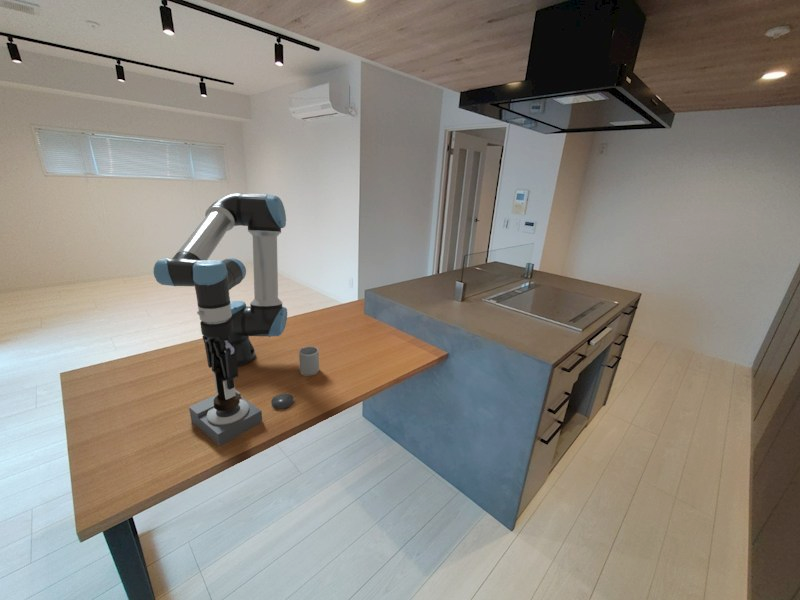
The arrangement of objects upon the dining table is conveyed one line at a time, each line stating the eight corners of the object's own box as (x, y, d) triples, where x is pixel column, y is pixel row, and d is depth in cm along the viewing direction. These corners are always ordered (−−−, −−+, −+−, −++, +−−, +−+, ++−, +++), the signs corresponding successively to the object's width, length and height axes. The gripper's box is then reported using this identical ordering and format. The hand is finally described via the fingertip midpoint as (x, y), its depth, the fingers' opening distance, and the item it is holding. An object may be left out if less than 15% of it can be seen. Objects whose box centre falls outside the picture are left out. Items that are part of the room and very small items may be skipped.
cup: (304, 378, 125) (303, 357, 122) (293, 366, 132) (292, 346, 129) (322, 372, 129) (321, 352, 126) (310, 361, 136) (310, 342, 133)
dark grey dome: (267, 403, 109) (266, 400, 109) (285, 393, 115) (284, 390, 115) (280, 412, 106) (280, 409, 105) (298, 401, 111) (298, 398, 111)
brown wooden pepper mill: (233, 394, 102) (227, 341, 96) (243, 404, 98) (238, 349, 92) (210, 404, 97) (202, 349, 91) (220, 414, 93) (213, 357, 87)
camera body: (191, 421, 100) (188, 406, 98) (233, 400, 110) (231, 387, 108) (219, 446, 91) (217, 430, 89) (262, 421, 101) (261, 407, 100)
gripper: (185, 314, 90) (197, 388, 98) (219, 332, 81) (229, 412, 89) (213, 307, 96) (223, 378, 104) (247, 323, 87) (255, 399, 95)
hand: (226, 393), depth 96 cm, fingers closed on brown wooden pepper mill, 4 cm apart
